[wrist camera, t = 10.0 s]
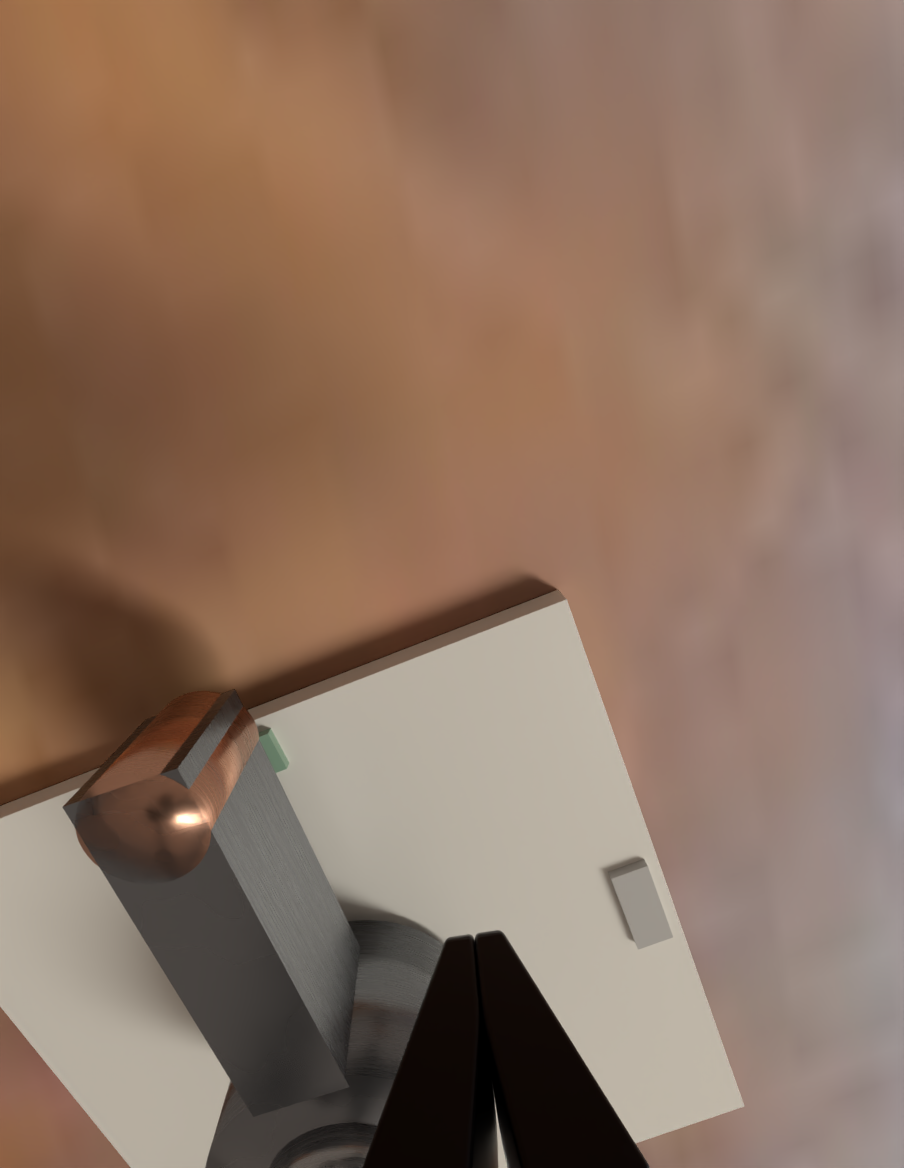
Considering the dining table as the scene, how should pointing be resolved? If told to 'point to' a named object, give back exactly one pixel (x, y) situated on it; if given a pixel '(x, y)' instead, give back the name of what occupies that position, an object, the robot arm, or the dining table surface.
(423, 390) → the dining table surface
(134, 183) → the dining table surface
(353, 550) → the dining table surface
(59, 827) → the plate
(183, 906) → the lever
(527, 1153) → the robot arm
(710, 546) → the dining table surface
